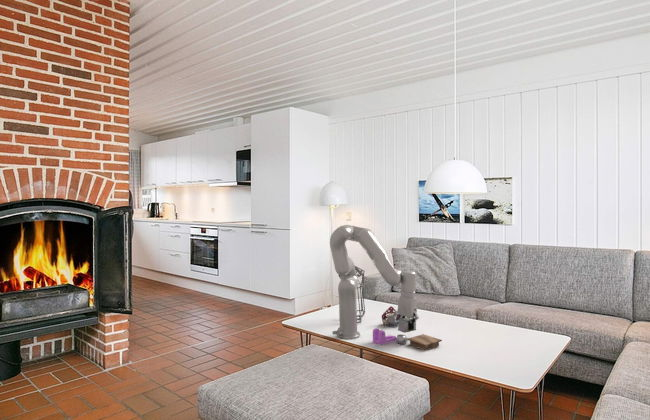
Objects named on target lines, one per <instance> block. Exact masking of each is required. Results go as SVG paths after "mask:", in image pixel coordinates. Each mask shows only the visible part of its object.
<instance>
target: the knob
mask: <svg viewBox="0 0 650 420" xmlns="http://www.w3.org/2000/svg"><path fill="white" fill-rule="evenodd" d="M396 337H397V340H396V344H397V345H398V344H399V345H400V346H405V345H406V344H407V337H406V335H405V334H397V335H396ZM399 345H398V346H399Z"/></svg>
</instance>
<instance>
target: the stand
mask: <svg viewBox="0 0 650 420" xmlns="http://www.w3.org/2000/svg"><path fill="white" fill-rule="evenodd" d="M406 341H409V345H410V346H412V347H415V348H418V349H422V350H424V351H425V350H430V349H434V348H436V347H439V346H440V343H441V342H442V341H443V340H442V339H440V338H436V337H434V336H430V335H428V334H424V333H423V334H419V335H416V336H412V337H409V338H406Z"/></svg>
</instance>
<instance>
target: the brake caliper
mask: <svg viewBox="0 0 650 420" xmlns="http://www.w3.org/2000/svg"><path fill="white" fill-rule="evenodd" d="M397 311H398V310H396V309H395V308H394V307H393V306H392V305H391V306H389V307H388V308H387V309H386V310H385V311H384V312H383V313H382V315H381V321H382V328H385V327H398V319H400V317H399V315H398V313H397Z"/></svg>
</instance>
